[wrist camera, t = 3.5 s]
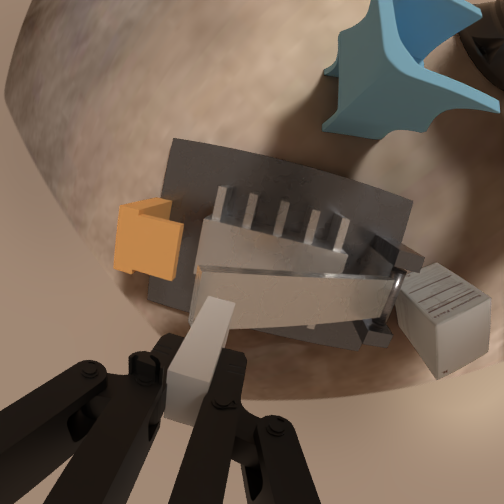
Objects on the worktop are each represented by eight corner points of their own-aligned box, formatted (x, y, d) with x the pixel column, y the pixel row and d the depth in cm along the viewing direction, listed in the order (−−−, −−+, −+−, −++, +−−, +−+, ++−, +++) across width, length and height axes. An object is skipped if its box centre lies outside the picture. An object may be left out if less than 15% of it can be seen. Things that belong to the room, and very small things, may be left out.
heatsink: (177, 139, 31) (146, 129, 23) (407, 199, 30) (444, 208, 22) (151, 295, 36) (122, 325, 28) (355, 345, 36) (371, 384, 27)
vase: (386, 142, 29) (501, 114, 10) (321, 131, 29) (383, 70, 10) (387, 81, 27) (481, 9, 8) (323, 69, 27) (370, -37, 8)
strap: (199, 247, 17) (206, 256, 16) (398, 266, 27) (409, 272, 25) (185, 331, 19) (191, 345, 17) (377, 318, 28) (388, 325, 27)
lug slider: (156, 197, 31) (119, 205, 23) (206, 208, 31) (181, 220, 23) (149, 247, 33) (113, 268, 25) (196, 259, 33) (170, 286, 25)
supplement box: (441, 307, 33) (489, 354, 21) (397, 326, 35) (435, 383, 22) (437, 259, 32) (493, 296, 20) (389, 278, 33) (435, 326, 21)
